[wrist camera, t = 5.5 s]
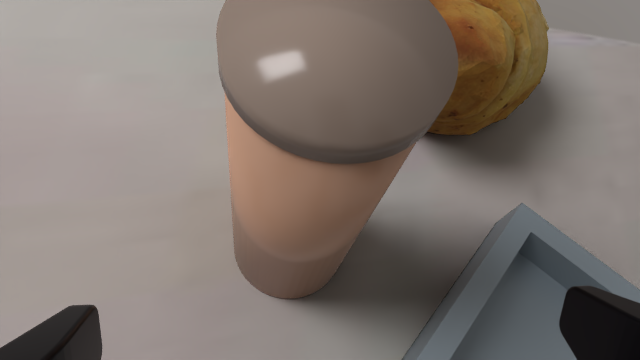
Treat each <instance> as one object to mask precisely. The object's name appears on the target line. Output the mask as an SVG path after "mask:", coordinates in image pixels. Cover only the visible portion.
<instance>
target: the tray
mask: <svg viewBox="0 0 640 360" xmlns="http://www.w3.org/2000/svg"><path fill="white" fill-rule="evenodd" d="M587 285H588V286H594V287H596V288H599V289H602V290H605V291H607V292H610V293H613V294H616V295H619V296H621V297H624V298H627V299H630V300H632V301H635V302H638V303H640V290H639V289H638V288H636V287H635V286H634V285H632V284H631V283H630V282H628V281H627V280H626V279H624V278H623V277H622V276H620V275H619V274H618V273H616V272H615V271H613V270H612V269H611V268H609V267H608V266H607V265H605V264H604V263H603V262H601V261H600V260H599V259H597V258H596V257H595V256H593V255H592V254H591V253H589V252H588V251H587V250H585V249H584V248H582V247H581V246H580V245H578V244H577V243H576V242H574V241H573V240H572V239H570V238H569V237H568V236H566V235H565V234H564V233H562V232H561V231H560V230H558V229H557V228H556V227H554V226H553V225H552V224H550V223H549V222H547V221H546V220H545V219H543V218H542V217H541V216H539V215H538V214H537V213H535V212H534V211H533V210H531V209H530V208H529V207H527V206H526V205H525V204H523V203H521V204H520V205H518V206H517V207H516V208H515V209H513V210H512V211H511V212H509V213H508V214H507V215H506V216H504V217H503V218H502V219H500V220H499V221H498V222H497V223H496V224H495V225H494V227H493V228H492V230H491V231H490V233H489V234H488V235H487V237H486V238H485V240H484V241H483V243H482V244H481V246H480V247H479V249H478V250H477V251H476V253H475V254H474V256H473V257H472V259H471V260H470V262H469V263H468V264H467V266H466V267H465V269H464V270H463V272H462V273H461V275H460V276H459V278H458V279H457V280H456V282H455V283H454V285H453V286H452V288H451V289H450V291H449V292H448V293H447V295H446V296H445V298H444V299H443V301H442V302H441V304H440V305H439V306H438V308H437V309H436V311H435V312H434V314H433V315H432V317H431V318H430V320H429V321H428V322H427V324H426V325H425V327H424V328H423V330H422V331H421V333H420V334H419V335H418V337H417V338H416V340H415V341H414V343H413V344H412V346H411V347H410V349H409V350H408V351H407V353H406V354H405V356H404V357H403V359H402V360H577V359H576V357H575V356H574V354H573V352H572V351H571V349H570V347H569V346H568V344H567V342H566V341H565V339H564V337H563V336H562V334H561V331H560V327H559V319H560V315H561V311H562V307H563V303H564V299H565V295H566V292H567V290H568V289H569V288H570V287H572V286H587Z"/></svg>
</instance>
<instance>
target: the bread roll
mask: <svg viewBox="0 0 640 360" xmlns="http://www.w3.org/2000/svg"><path fill="white" fill-rule="evenodd" d="M429 1H430V2H431V3H432V4H433V5H434V7H435V8H436V9H437V10H438V11H439V13H440V14H441V16H442V17H443V18H444V20H445V21H446V23H447V25H448V27H449V29H450V31H451V33H452V36H453V38H454V41H455V44H456V49H457V53H458V74H457V80H456V83H455V87H454V90H453V92H452V94H451V96H450V98H449V100H448V101H447V103H446V105H445V106H444V108H443V109H442V111H441V112H440V114H439V116H438V117H437V119H436V120H435V122H434V123H433V125H432V126H431V127H430V129H429V130H428V132H432V133H436V134H445V135H466V134H467V135H470V134H473V133H476V132H477V131H479V130H480V129H482V128H484V127H486V126H488V125H490V124H491V123H495V122H498V121H499V120H502V119H506V118H507V116H508V115H509V114H510V113H511V112H513V111H514V110H515V109H516V108H517V107H518V106H519V105H520V104H522V103H523V102H524V100H525V99H527V98H528V97H529V95H530V94H531V93H532V91H533V90H534V89H535V87H536V86H537V85H538V84H539V83H540V80H541V78H542V76H543V74H544V72H545V68H546V62H547V54H548V38H547V30H548V29H549V27H548V25H547V22H546V19H545V18H544V16H543V14H542V12H541V8H540V6H539V4H538V3H537V1H536V0H429Z"/></svg>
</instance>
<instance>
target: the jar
mask: <svg viewBox="0 0 640 360" xmlns="http://www.w3.org/2000/svg"><path fill="white" fill-rule="evenodd" d="M216 38H217V52H218V65H219V75H220V79H221V83H222V87H223V89H224V91H225V105H226V122H227V138H228V155H229V172H230V188H231V205H232V222H233V238H234V253H235V258H236V262H237V264H238V267H239V269H240V271H241V272H242V274H243V275H244V277H245V278H246V279H247V280H248V281H249V282H250V284H251V285H253V286H254V287H255V288H257V289H258V290H260V291H261V292H263V293H265V294H268V295H270V296H274V297H277V298H284V299H294V298H301V297H304V296H308V295H310V294H312V293H314V292H316V291H318V290H320V289H321V288H322V287H323V286H325V285H326V284H327V283H328V282H329V281H330V280H331V278H332V277H333V275H334V274H335V272H336V271H337V269H338V268H339V266H340V264H341V263H342V261H343V260H344V258H345V256H346V255H347V253H348V252H349V250H350V248H351V247H352V245H353V243H354V242H355V240H356V239H357V237H358V235H359V234H360V232H361V231H362V229H363V227H364V226H365V224H366V223H367V221H368V219H369V218H370V216H371V214H372V213H373V211H374V210H375V208H376V206H377V205H378V203H379V202H380V200H381V198H382V197H383V195H384V194H385V192H386V190H387V189H388V187H389V186H390V184H391V182H392V181H393V179H394V177H395V176H396V174H397V173H398V171H399V169H400V168H401V166H402V165H403V163H404V161H405V160H406V158H407V157H408V155H409V153H410V152H411V150H412V148H413V147H414V145H415V144H416V142H417V141H418V140H419V139H420V138H421V137H422V136H423V135H424V134H425V133H426V132H427V131H428V130H429V129H430V127H431V126H432V125H433V123H434V122H435V120H436V119H437V117H438V116H439V114H440V112H441V111H442V109H443V108H444V106H445V105H446V103H447V101H448V100H449V98H450V96H451V94H452V92H453V90H454V87H455V83H456V80H457V74H458V53H457V49H456V44H455V41H454V38H453V36H452V33H451V31H450V29H449V27H448V25H447V23H446V21H445V20H444V18H443V17H442V16H441V14H440V13H439V11H438V10H437V9H436V8H435V7H434V5H433V4H432V3H431V2H430V1H429V0H226V1H225V3H224V5H223V7H222V10H221V12H220V15H219V19H218V23H217V33H216Z"/></svg>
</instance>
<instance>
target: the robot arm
mask: <svg viewBox="0 0 640 360" xmlns="http://www.w3.org/2000/svg"><path fill="white" fill-rule="evenodd" d="M559 327H560V331H561V334H562V336H563V337H564V339H565V341H566V342H567V344H568V346H569V347H570V349H571V351H572V352H573V354H574V356H575V357H576V359H577V360H640V303H638V302H635V301H632V300H630V299H627V298H624V297H621V296H619V295H616V294H613V293H610V292H607V291H605V290H602V289H599V288H596V287H594V286H588V285H587V286H572V287H570V288H569V289H568V290H567V292H566V295H565V299H564V303H563V307H562V311H561V315H560V319H559ZM101 355H102V339H101V331H100V323H99V314H98V310H97V308H96V307H95V306H94V305H72V306H69V307H67V308H65V309H64V310H62V311H60V312H59V313H57V314H55V315H54V316H52V317H50V318H49V319H47V320H46V321H44V322H42V323H41V324H39V325H37V326H36V327H34V328H32V329H31V330H29V331H27V332H26V333H24V334H23V335H21V336H19V337H18V338H16V339H14V340H13V341H11V342H9V343H8V344H6V345H4V346H3V347H1V348H0V360H101Z"/></svg>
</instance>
